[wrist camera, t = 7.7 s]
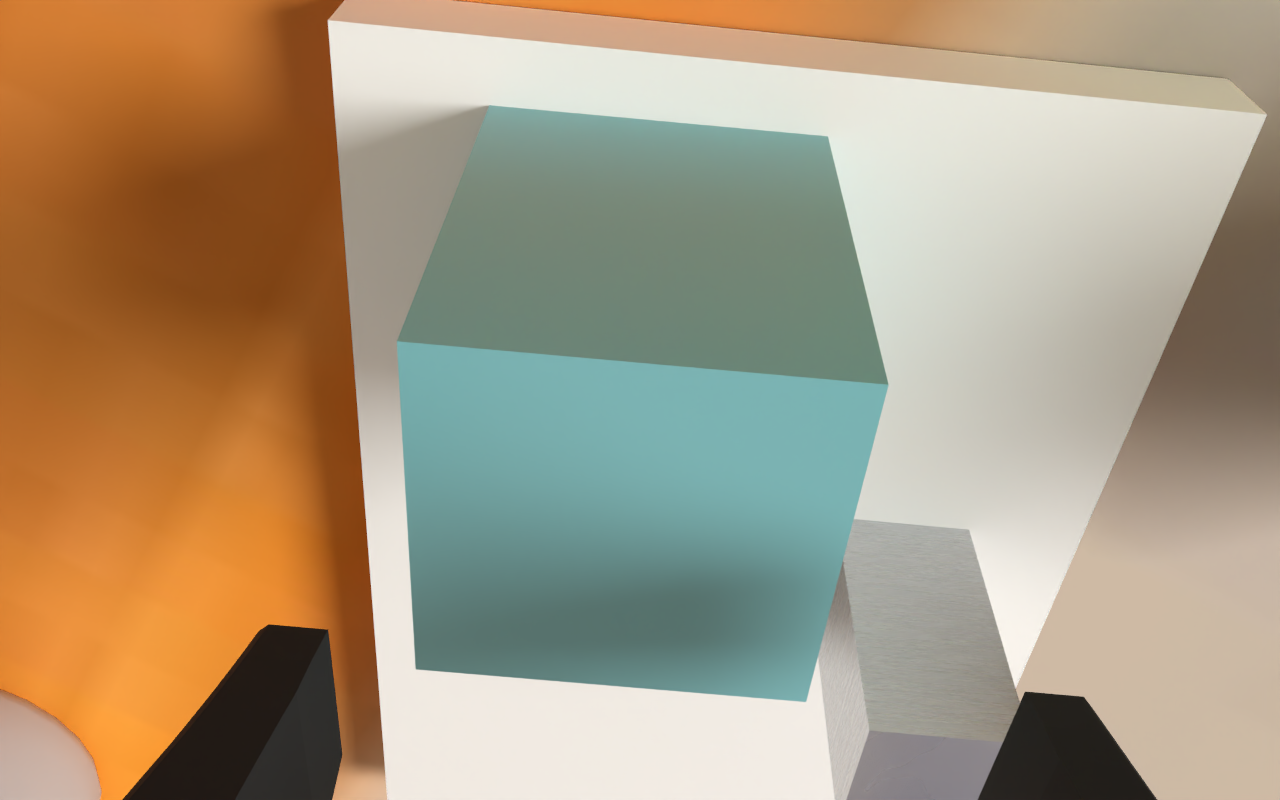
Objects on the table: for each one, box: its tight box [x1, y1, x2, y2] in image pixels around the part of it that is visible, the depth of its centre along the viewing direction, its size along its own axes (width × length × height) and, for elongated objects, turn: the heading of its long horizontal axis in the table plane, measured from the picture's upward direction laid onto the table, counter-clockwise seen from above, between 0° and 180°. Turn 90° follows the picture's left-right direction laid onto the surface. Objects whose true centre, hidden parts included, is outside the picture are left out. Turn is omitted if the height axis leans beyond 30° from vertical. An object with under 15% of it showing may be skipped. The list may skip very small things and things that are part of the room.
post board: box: [328, 0, 1267, 800], centre depth 23 cm, size 20×14×2 cm
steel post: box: [818, 519, 1020, 800], centre depth 20 cm, size 3×3×5 cm
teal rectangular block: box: [397, 105, 889, 702], centre depth 16 cm, size 5×5×7 cm
